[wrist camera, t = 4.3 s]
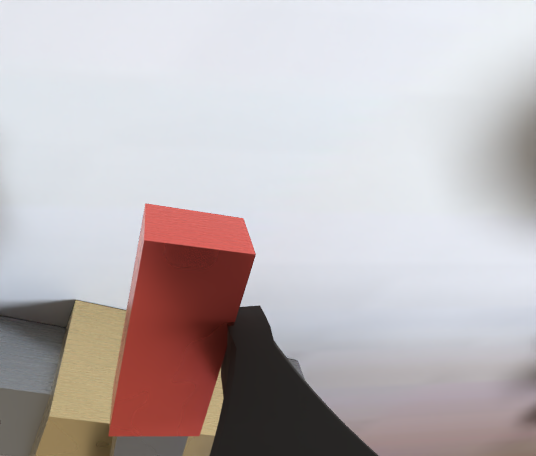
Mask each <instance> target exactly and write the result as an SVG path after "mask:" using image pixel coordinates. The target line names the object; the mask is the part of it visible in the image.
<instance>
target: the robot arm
mask: <svg viewBox="0 0 536 456" xmlns="http://www.w3.org/2000/svg"><path fill="white" fill-rule="evenodd" d="M221 381H222V390H223V398H224V399H223V403H222V408H221V413H220V418H219V422H218V426H217V430H216V434H215V437H214V441H213V445H212V448H211V452H210V455H209V456H378V455H377V454H376V453H375V452H374V451H373V450H372V449H371V448H370V447H368V446H367V445H366V444H365V443H364V442H363V441H362V440H361V439H360V438H359V437H358V436H357V435H356V434H355V433H354V432H352V431H351V430H350V429H349V428H348V427H347V426H346V425H345V424H344V423H343V422H342V421H341V420H340V419H339V418H338V417H337V416H336V415H335V414H334V412H333V411H332V410H331V409H330V408H329V407H328V406H327V405H326V404H325V403H324V402H323V401H322V399H321V398H320V397H319V396H318V395H317V394H316V393H315V392H314V391H313V389H312V388H311V387H310V386H309V385H308V384H307V382H306V381H305V380H304V379H303V378H302V376H301V375H300V374H299V373H298V371H297V370H296V369H295V368H294V366H293V365H292V364H291V363H290V361H289V360H288V359H287V358H286V356H285V355H284V354H283V352H282V351H281V350H280V348H279V347H278V346H277V344H276V343H275V341H274V340H273V336H272V332H271V328H270V325H269V323H268V321H267V318H266V316H265V314H264V312H263V311H262V309H261V307H260V306H248V307H239V310H238V313H237V317H236V320H235V323H234V326H228V333H227V349H226V352H225V356H224V359H223V362H222V365H221Z"/></svg>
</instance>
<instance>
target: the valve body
mask: <svg viewBox="0 0 536 456" xmlns="http://www.w3.org/2000/svg"><path fill="white" fill-rule="evenodd" d="M125 316H126V310H121V309H116V308H111V307H106V306H102V305H97V304H92V303H87V302H83V301H78V300H75V303H74V306H73V309H72V312H71V315H70V318H69V321H68V324H67V327H66V328H63V327H57V326H52V325H46V324H41V323H36V322H30V321H25V320H19V319H14V318H9V317H3V316H0V455H4V456H109V455H110V450H111V444H112V439H113V436H108V435H109V425H110V414H111V404H112V393H113V384H114V379H115V373H116V367H117V362H118V356H119V350H120V345H121V339H122V333H123V328H124V322H125ZM288 360H289V361H290V363H291V364H292V365H293V366H294V368H295V369H296V370H297V371H298V373H299V374H300V375H301V376H302V378H303V379H304V377H303V374H302V371H301V368H300V365H299V363H298V361H296V360H291V359H288ZM304 380H305V379H304ZM223 399H224V398H223V390H222V381H221V368H220V372H219V375H218V378H217V381H216V385H215V388H214V391H213V394H212V398H211V401H210V404H209V407H208V411H207V414H206V417H205V420H204V423H203V427H202V430H201V433H200V436H188V438H187V442H186V445H185V449H184V452H183V455H182V456H209V455H210V452H211V448H212V445H213V441H214V437H215V434H216V430H217V426H218V422H219V418H220V413H221V408H222V403H223Z"/></svg>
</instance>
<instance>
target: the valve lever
mask: <svg viewBox="0 0 536 456" xmlns="http://www.w3.org/2000/svg"><path fill="white" fill-rule="evenodd" d="M255 255H256V254H255V251H254V248H253V245H252V242H251V239H250V236H249V233H248V231H247V228H246V225H245V222H244V219H243V218H238V217H231V216H224V215H218V214H211V213H205V212H198V211H191V210H185V209H178V208H172V207H165V206H159V205H152V204H145V209H144V215H143V220H142V226H141V232H140V237H139V243H138V248H137V254H136V260H135V265H134V271H133V277H132V282H131V288H130V294H129V299H128V305H127V311H126V316H125V322H124V328H123V333H122V339H121V345H120V350H119V356H118V362H117V367H116V373H115V379H114V384H113V393H112V404H111V414H110V425H109V435H108V436H113V439H112V444H111V450H110V455H109V456H182V455H183V452H184V449H185V445H186V442H187V438H188V436H200V433H201V430H202V427H203V423H204V420H205V417H206V414H207V411H208V407H209V404H210V401H211V398H212V394H213V391H214V388H215V385H216V381H217V378H218V375H219V372H220V368H221V365H222V362H223V359H224V356H225V352H226V349H227V333H228V326H234V323H235V320H236V317H237V313H238V310H239V307H240V304H241V300H242V297H243V294H244V291H245V288H246V284H247V281H248V278H249V275H250V271H251V268H252V265H253V262H254V258H255Z"/></svg>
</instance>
